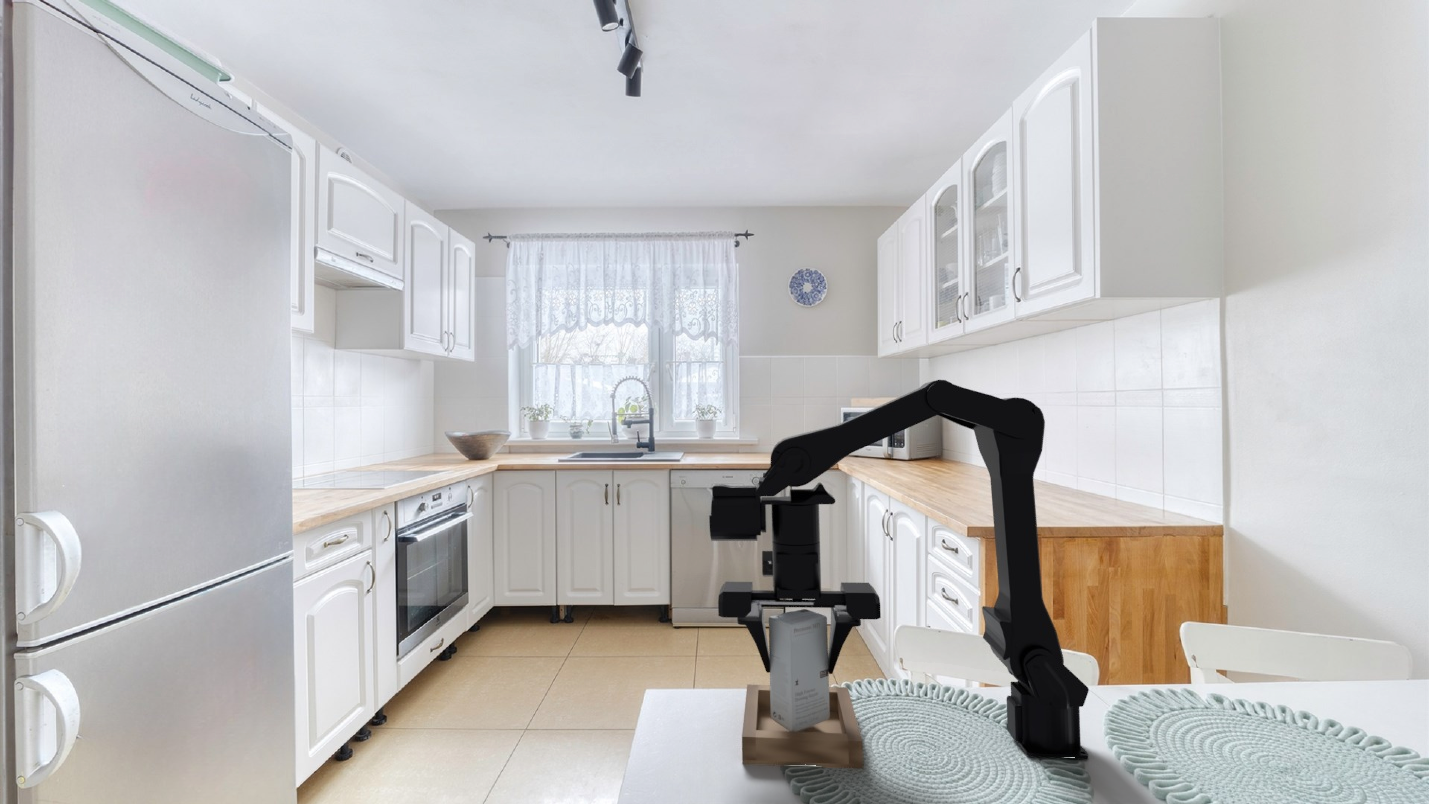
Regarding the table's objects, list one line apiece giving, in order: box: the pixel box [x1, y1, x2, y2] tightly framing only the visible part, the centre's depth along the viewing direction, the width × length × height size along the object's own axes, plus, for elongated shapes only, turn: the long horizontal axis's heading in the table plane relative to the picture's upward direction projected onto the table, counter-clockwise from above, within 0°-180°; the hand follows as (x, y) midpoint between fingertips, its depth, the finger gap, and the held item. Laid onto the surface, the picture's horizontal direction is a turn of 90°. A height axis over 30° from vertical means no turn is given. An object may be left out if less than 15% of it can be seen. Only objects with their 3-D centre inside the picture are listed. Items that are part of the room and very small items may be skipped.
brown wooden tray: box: [741, 684, 864, 770], centre depth 71 cm, size 13×13×3 cm
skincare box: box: [768, 608, 830, 732], centre depth 71 cm, size 6×4×12 cm
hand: (799, 671), depth 71 cm, fingers closed on skincare box, 7 cm apart
